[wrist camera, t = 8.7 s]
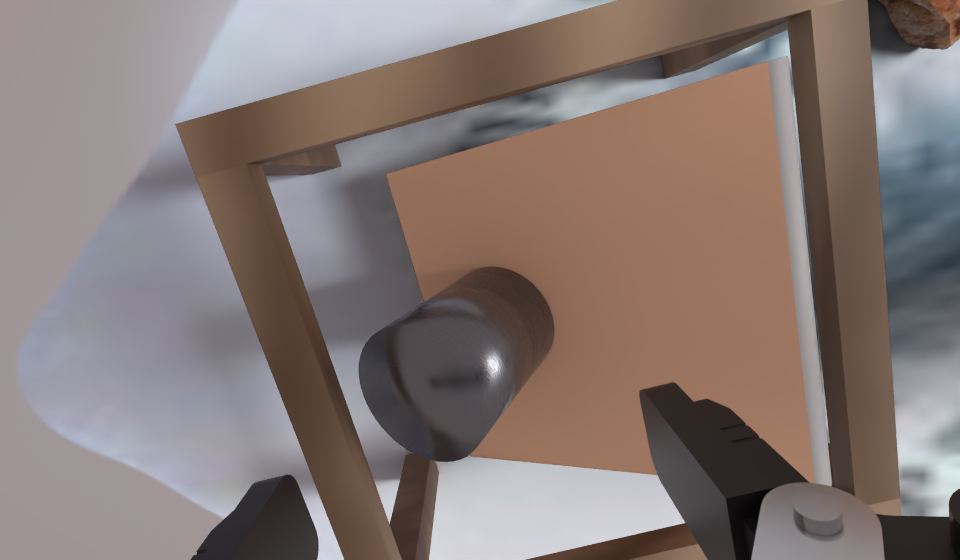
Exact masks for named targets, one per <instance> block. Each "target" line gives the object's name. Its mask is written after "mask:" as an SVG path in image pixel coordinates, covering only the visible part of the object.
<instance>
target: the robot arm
mask: <svg viewBox="0 0 960 560" xmlns="http://www.w3.org/2000/svg"><path fill="white" fill-rule="evenodd" d="M639 398H640V404H641V409H642V414H643V419H644V424H645V429H646V434H647V439H648V444H649V449H650V453H651V457H652V461H653V464H654V467H655V469H656V472H657V474H658V477H659V479H660V481H661V483H662V484H663V486H664V488H665V489H666V491H667V493H668V494H669V496H670V498H671V499H672V501H673V503H674V504H675V506H676V508H677V509H678V511H679V513H680V514H681V516H682V518H683V519H684V521H685V523H686V524H687V526H688V528H689V529H690V531H691V533H692V534H693V536H694V538H695V539H696V541H697V543H698V544H699V546H700V548H701V549H702V551H703V553H704V554H705V556H706V558H707V559H708V560H960V489H958V490H957V491H956V492H954V493H953V494H952V496H951V498H950V501H949V517H926V516H892V515H881V514H875V513H874V511H873V510H872V509H871V508H870V507H869V506H868V505H867V504H865V503H864V502H863V501H861V500H860V499H858V498H857V497H855V496H853V495H851V494H849V493H847V492H845V491H843V490H840V489H837V488H834V487H831V486H827V485H822V484H817V483H810V482H809V481H808V480H806V479H805V478H804V477H803V476H802V475H801V474H800V473H799V472H798V471H797V470H796V469H795V468H794V467H792V466H791V465H790V464H789V463H788V462H787V461H786V460H785V459H784V458H783V457H782V456H781V455H780V454H778V453H777V452H776V451H775V450H774V449H773V448H772V447H771V446H770V445H769V444H768V443H767V442H766V441H765V440H763V439H762V438H759V435H758V434H757V433H756V432H755V431H754V430H753V429H752V428H751V427H749V426H746V423H745V422H744V421H743V420H742V419H741V418H740V417H739V416H738V415H737V414H736V413H734V412H733V411H732V410H731V409H730V408H728V407H726V406H724V405H721V404H719V403H717V402H714V401H712V400H709V399H703V400H698V401H693V400H692V399H691V398H690V397H689V396H688V395H687V394H686V393H685V392H684V391H683V390H682V389H681V388H680V387H679V386H678V385H677V384H676V383H675V382H671V383H667V384H663V385H659V386H654V387H650V388H646V389H642V390H640V392H639ZM317 557H318V536H317V532H316V529H315V526H314V524H313V521H312V519H311V516H310V514H309V511H308V509H307V506H306V504H305V501H304V499H303V496H302V494H301V491H300V488H299V486H298V484H297V481H296V480H295V478H294V477H293V476H291V475H284V476H279V477H275V478H271V479H267V480H263V481H259V482H256V483H254V484H253V485H252V486H251V487H250V489H249V490H248V491H247V493H246V494H245V496H244V497H243V499H242V500H241V501H240V503H239V504H238V506H237V507H236V509H235V510H234V511H233V512H232V513H231V514H229V515H228V516H227V517H226V518H225V519H224V520H223V521H222V522H221V523H220V524H218V525H217V526H216V527H215V528H214V529H213V530H212V531H211V532H210V534H209V535H208V536H207V538H206V539H205V540H204V542H203V543H202V545H201V546H200V547H199V549H198V550H197V555H194V556H193V557H192V559H191V560H317Z"/></svg>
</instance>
